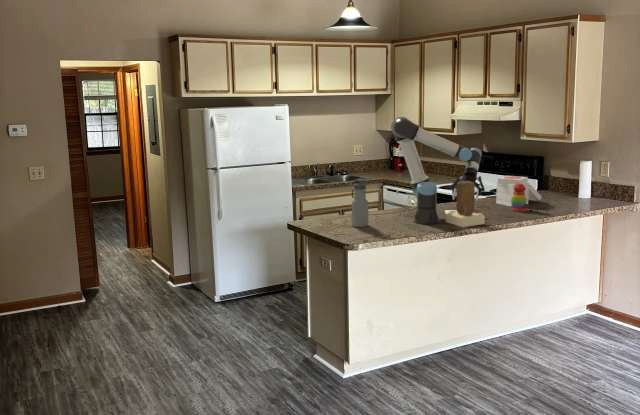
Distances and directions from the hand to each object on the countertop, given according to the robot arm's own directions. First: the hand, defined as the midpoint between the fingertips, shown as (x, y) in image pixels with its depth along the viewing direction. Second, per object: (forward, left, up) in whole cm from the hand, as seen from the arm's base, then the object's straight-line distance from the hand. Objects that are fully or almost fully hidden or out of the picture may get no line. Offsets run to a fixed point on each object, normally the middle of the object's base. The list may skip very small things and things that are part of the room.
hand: (464, 199), depth 363 cm
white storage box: (+18, +77, -15) cm, 81 cm away
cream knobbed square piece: (0, +1, -15) cm, 15 cm away
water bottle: (-55, -29, -15) cm, 64 cm away
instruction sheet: (-14, +28, -15) cm, 35 cm away
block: (0, +2, -10) cm, 10 cm away
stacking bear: (+23, +51, -15) cm, 58 cm away
